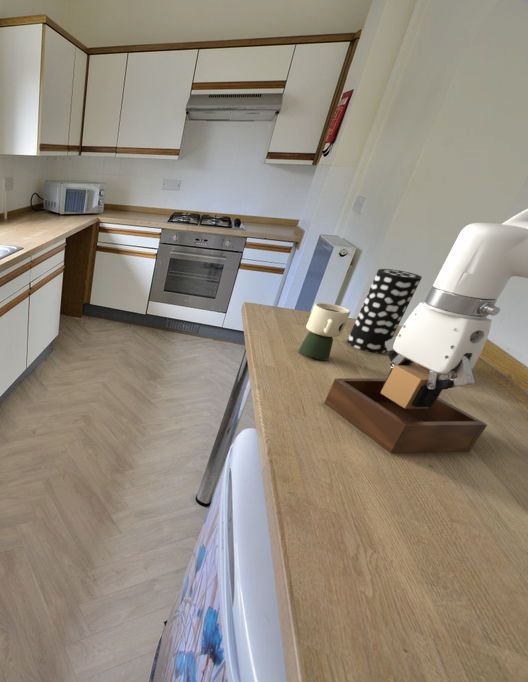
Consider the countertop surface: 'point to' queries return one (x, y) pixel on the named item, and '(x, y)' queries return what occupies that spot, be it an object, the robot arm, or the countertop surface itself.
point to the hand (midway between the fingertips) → (406, 396)
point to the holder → (403, 419)
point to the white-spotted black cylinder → (383, 309)
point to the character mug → (323, 329)
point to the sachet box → (405, 385)
